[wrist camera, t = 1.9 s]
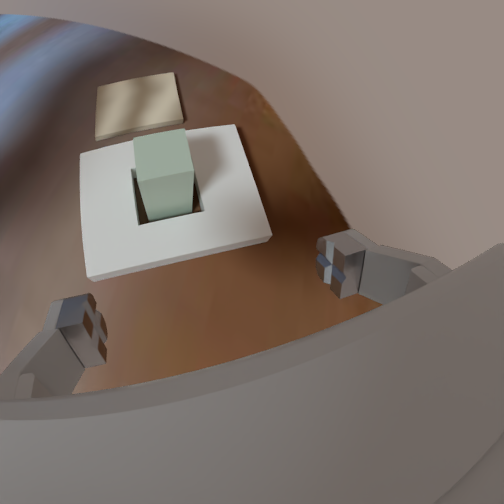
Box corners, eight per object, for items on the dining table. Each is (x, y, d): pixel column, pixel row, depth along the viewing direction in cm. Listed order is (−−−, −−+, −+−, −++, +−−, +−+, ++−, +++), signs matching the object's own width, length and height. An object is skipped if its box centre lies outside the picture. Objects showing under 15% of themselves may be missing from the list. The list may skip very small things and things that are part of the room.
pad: (96, 141, 29) (94, 137, 28) (98, 90, 31) (97, 86, 30) (183, 123, 32) (183, 118, 31) (173, 76, 34) (173, 72, 33)
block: (149, 221, 28) (137, 181, 20) (143, 184, 29) (132, 138, 21) (191, 212, 29) (194, 170, 21) (183, 176, 30) (184, 128, 22)
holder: (93, 281, 25) (87, 277, 23) (84, 163, 28) (80, 153, 26) (267, 241, 30) (272, 235, 28) (232, 135, 33) (234, 124, 31)
